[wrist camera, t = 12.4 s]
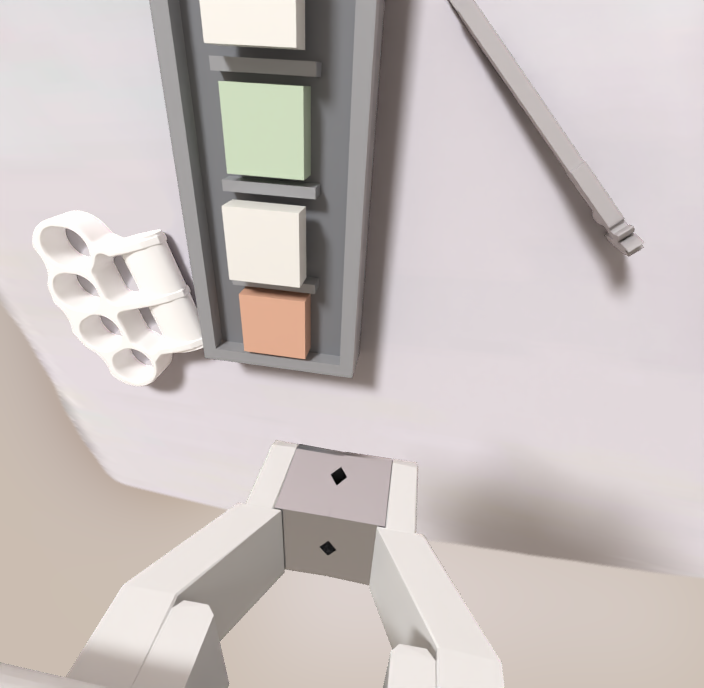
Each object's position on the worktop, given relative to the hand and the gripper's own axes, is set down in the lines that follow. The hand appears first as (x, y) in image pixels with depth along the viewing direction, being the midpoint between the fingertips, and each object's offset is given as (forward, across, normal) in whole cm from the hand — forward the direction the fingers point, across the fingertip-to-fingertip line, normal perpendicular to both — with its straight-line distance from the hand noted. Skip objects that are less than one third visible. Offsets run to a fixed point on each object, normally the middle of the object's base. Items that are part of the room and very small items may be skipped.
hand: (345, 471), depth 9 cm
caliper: (+30, -9, -5) cm, 31 cm away
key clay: (+26, +10, +11) cm, 30 cm away
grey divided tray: (+29, +10, 0) cm, 31 cm away
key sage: (+26, +10, -4) cm, 28 cm away
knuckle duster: (+30, +27, +13) cm, 42 cm away
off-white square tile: (+25, +10, +4) cm, 27 cm away
